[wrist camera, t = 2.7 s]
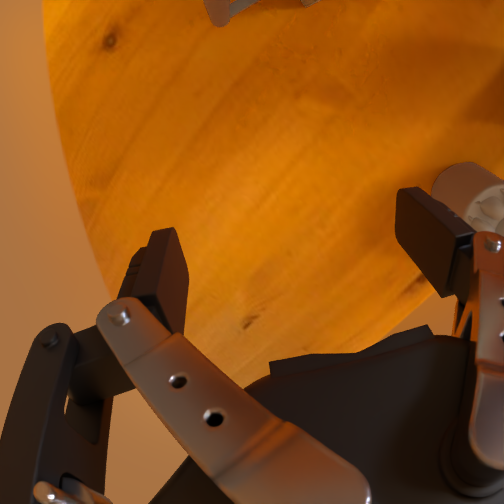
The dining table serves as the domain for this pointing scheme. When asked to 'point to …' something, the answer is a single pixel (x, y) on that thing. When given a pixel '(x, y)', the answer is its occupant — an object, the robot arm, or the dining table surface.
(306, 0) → the washer
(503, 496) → the robot arm
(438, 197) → the lumpy-topped squat cylinder
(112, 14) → the dining table surface
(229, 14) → the washer door
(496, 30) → the dining table surface
